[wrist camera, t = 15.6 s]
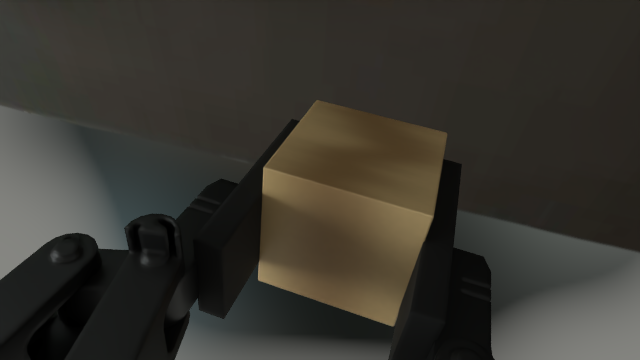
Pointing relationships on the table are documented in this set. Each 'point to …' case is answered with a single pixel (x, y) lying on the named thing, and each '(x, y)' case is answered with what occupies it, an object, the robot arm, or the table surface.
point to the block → (349, 208)
